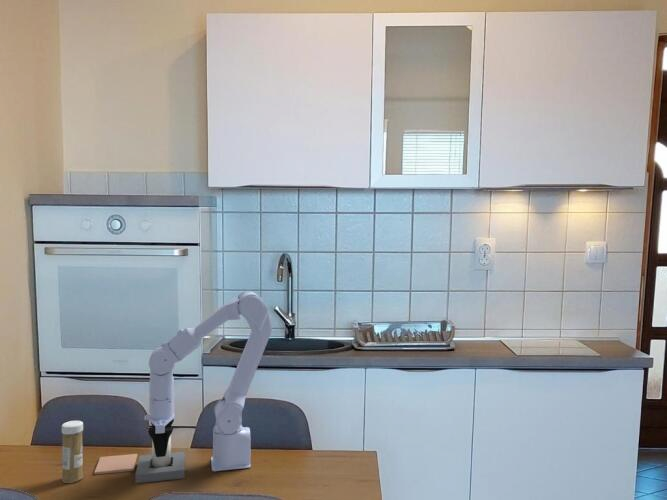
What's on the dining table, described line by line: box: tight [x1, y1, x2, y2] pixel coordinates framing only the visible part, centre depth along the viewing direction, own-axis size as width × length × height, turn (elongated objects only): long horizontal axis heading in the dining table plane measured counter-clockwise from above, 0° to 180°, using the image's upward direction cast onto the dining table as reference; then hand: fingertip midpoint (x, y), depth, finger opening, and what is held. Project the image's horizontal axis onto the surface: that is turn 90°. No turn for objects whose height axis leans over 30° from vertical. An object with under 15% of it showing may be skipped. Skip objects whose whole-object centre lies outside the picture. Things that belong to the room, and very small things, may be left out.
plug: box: [151, 434, 172, 468], centre depth 129 cm, size 4×4×8 cm
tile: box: [93, 453, 138, 476], centre depth 132 cm, size 9×9×1 cm
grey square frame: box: [135, 451, 186, 484], centre depth 129 cm, size 11×11×2 cm
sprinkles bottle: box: [61, 420, 84, 484], centre depth 124 cm, size 5×5×14 cm
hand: (161, 452), depth 129 cm, fingers closed on plug, 4 cm apart
